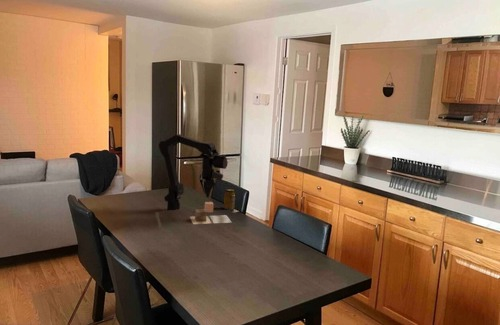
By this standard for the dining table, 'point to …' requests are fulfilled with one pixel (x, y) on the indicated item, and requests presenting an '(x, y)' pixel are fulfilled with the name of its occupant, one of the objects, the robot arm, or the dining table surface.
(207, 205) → the salmon orange block
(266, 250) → the dining table surface
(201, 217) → the walnut block
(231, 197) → the condiment
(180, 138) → the robot arm
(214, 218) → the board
